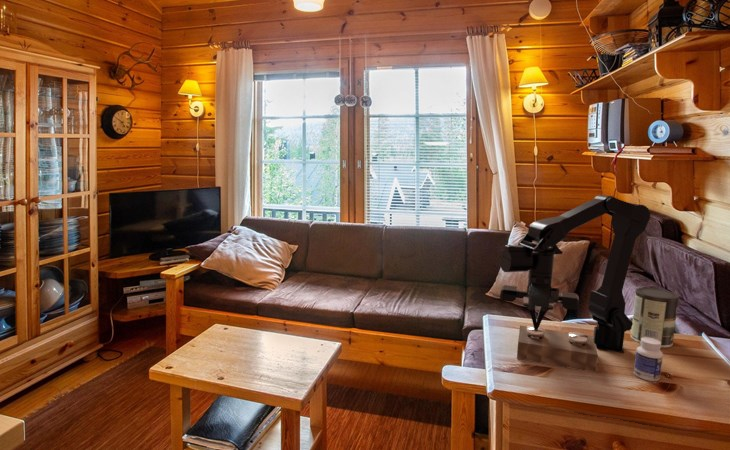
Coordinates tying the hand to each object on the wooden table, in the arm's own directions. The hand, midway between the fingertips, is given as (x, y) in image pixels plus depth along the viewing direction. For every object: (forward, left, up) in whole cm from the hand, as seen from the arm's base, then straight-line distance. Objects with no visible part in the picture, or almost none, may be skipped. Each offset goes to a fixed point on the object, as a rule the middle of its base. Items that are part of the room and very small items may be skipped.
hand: (536, 328), depth 113 cm
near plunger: (-10, 0, -6) cm, 12 cm away
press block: (-5, 0, -6) cm, 8 cm away
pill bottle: (-25, +3, -7) cm, 26 cm away
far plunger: (0, 0, -6) cm, 6 cm away
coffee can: (-31, -22, -7) cm, 39 cm away
